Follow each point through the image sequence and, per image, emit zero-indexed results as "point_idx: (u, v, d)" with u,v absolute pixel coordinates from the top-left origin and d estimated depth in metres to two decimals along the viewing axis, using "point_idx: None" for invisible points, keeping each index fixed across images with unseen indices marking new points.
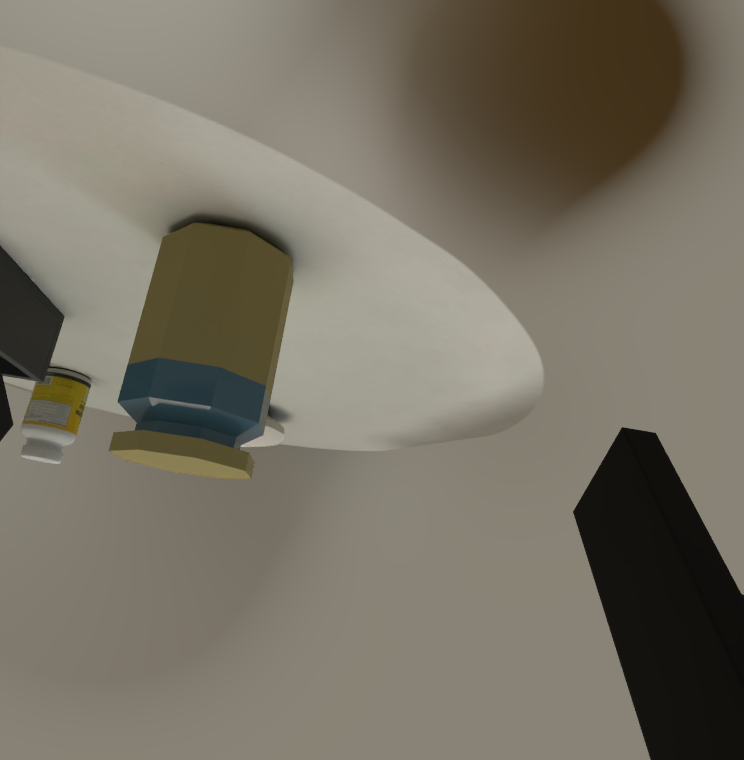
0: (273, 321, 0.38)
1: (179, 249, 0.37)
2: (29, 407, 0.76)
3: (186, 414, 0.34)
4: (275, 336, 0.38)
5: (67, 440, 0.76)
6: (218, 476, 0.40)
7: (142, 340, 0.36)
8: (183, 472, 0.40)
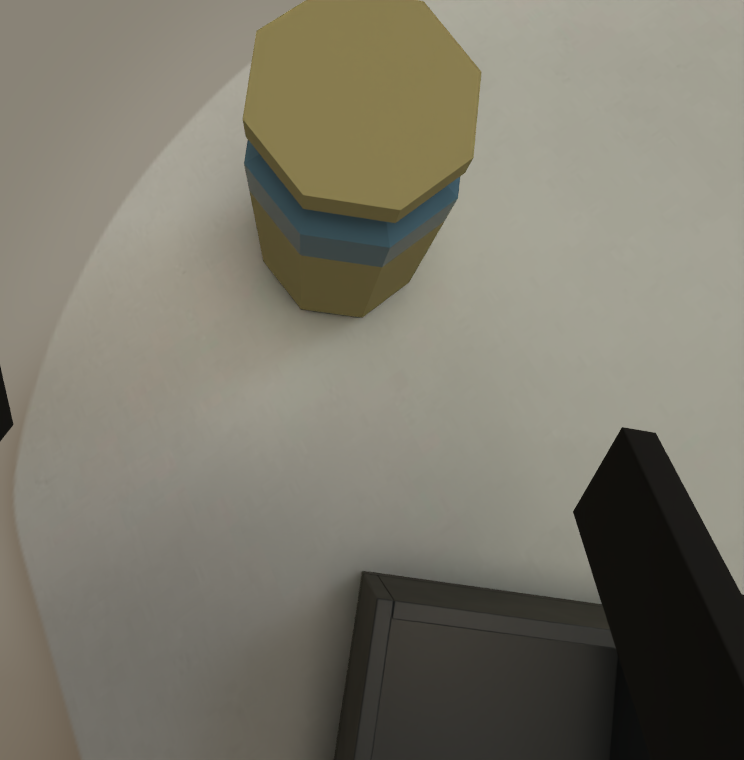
0: None
1: (271, 263, 0.32)
2: None
3: None
4: None
5: None
6: (452, 65, 0.21)
7: (286, 248, 0.27)
8: (464, 131, 0.21)
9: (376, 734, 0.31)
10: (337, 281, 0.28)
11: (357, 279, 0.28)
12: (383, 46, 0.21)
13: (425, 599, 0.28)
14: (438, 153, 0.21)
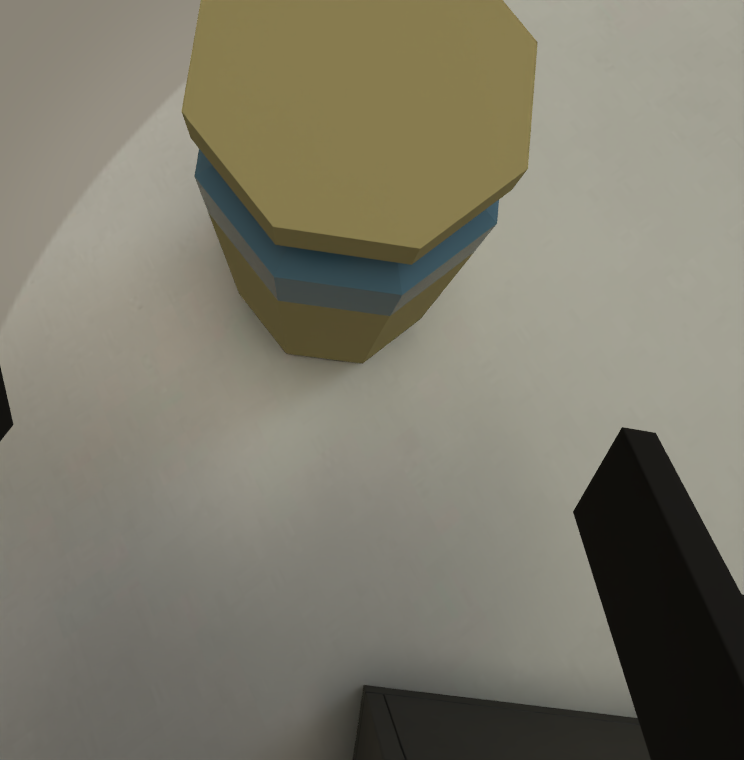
0: None
1: (247, 298, 0.26)
2: None
3: None
4: None
5: None
6: (495, 32, 0.14)
7: (260, 288, 0.20)
8: (514, 129, 0.14)
9: None
10: (330, 328, 0.21)
11: (356, 327, 0.21)
12: (393, 4, 0.14)
13: (447, 751, 0.21)
14: (476, 162, 0.14)
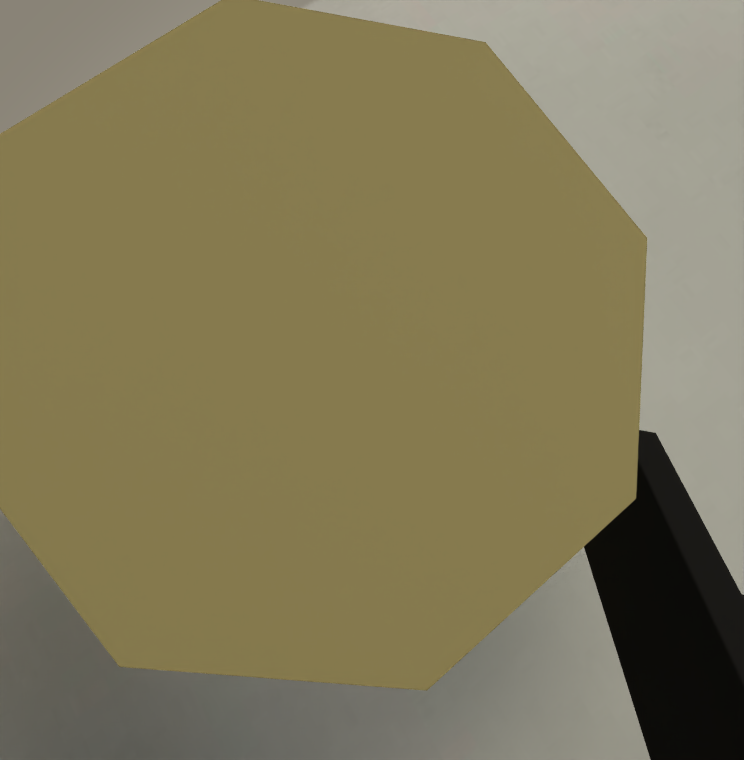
0: None
1: None
2: None
3: None
4: None
5: None
6: (569, 222, 0.08)
7: None
8: (607, 418, 0.07)
9: None
10: None
11: None
12: (374, 173, 0.07)
13: None
14: (536, 492, 0.07)
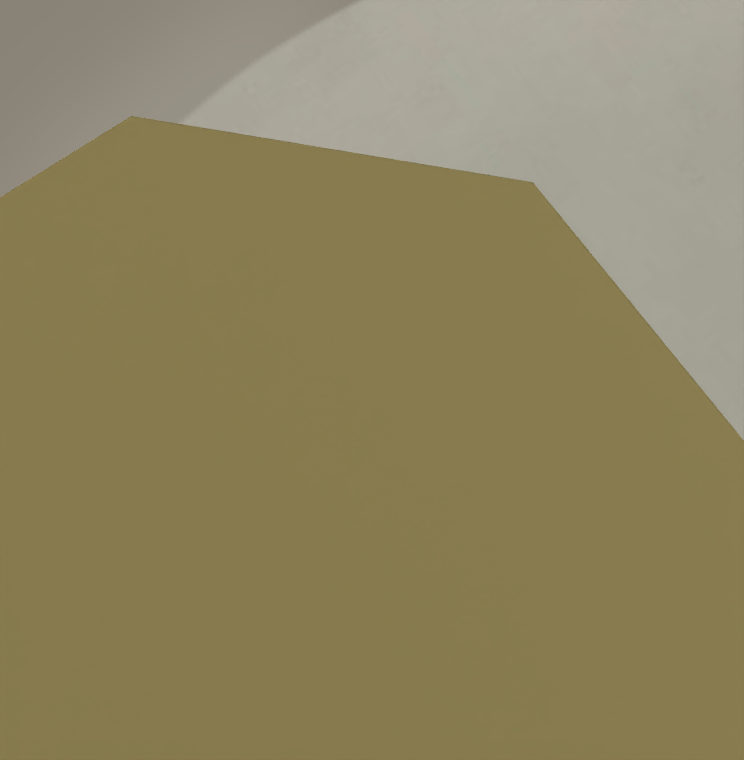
0: None
1: None
2: None
3: None
4: None
5: None
6: (665, 472, 0.05)
7: None
8: None
9: None
10: None
11: None
12: (358, 403, 0.05)
13: None
14: None
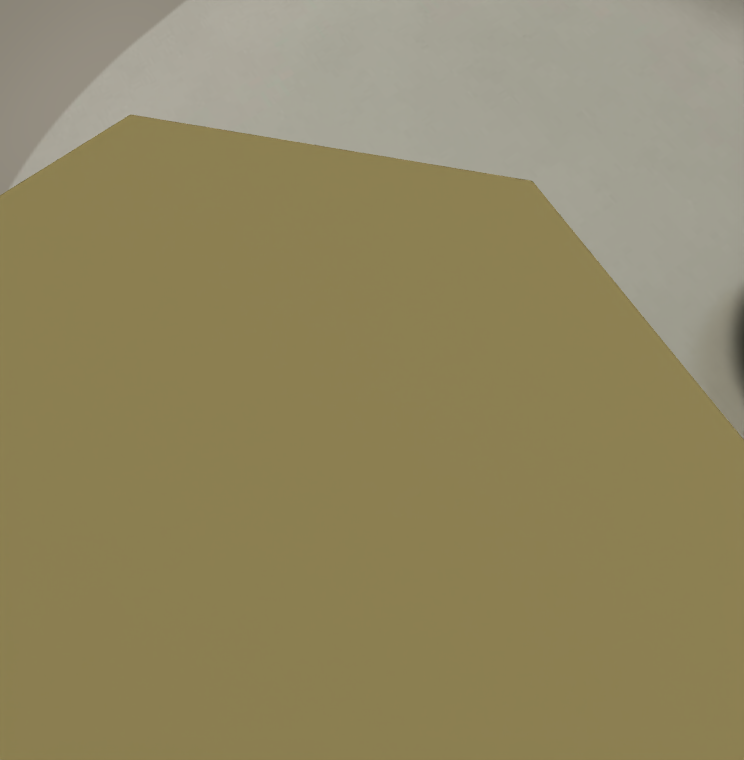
0: None
1: None
2: None
3: None
4: None
5: None
6: (665, 471, 0.05)
7: None
8: None
9: None
10: None
11: None
12: (358, 402, 0.05)
13: None
14: None
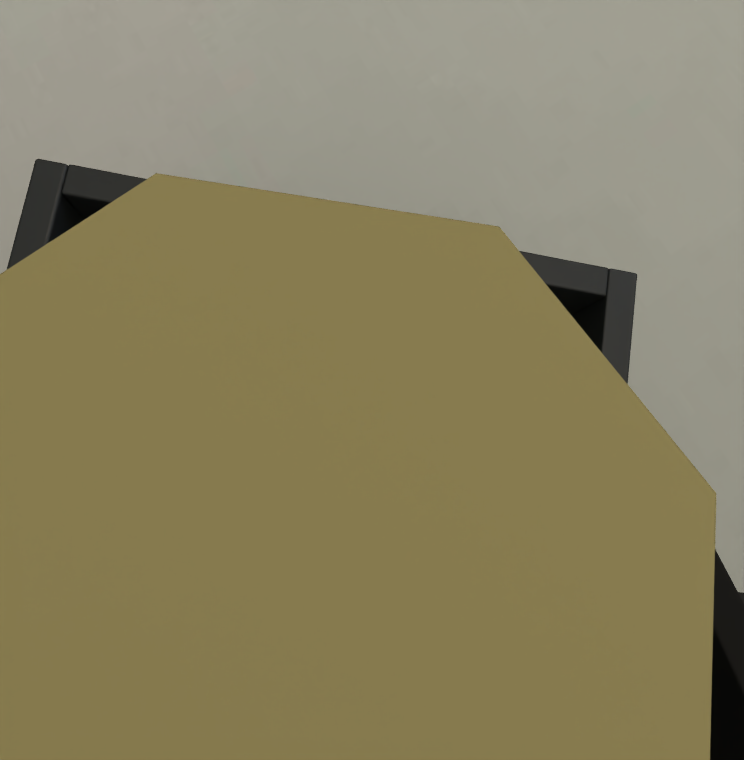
0: None
1: None
2: None
3: None
4: None
5: None
6: (611, 475, 0.06)
7: None
8: (666, 759, 0.05)
9: None
10: None
11: None
12: (349, 417, 0.05)
13: None
14: None
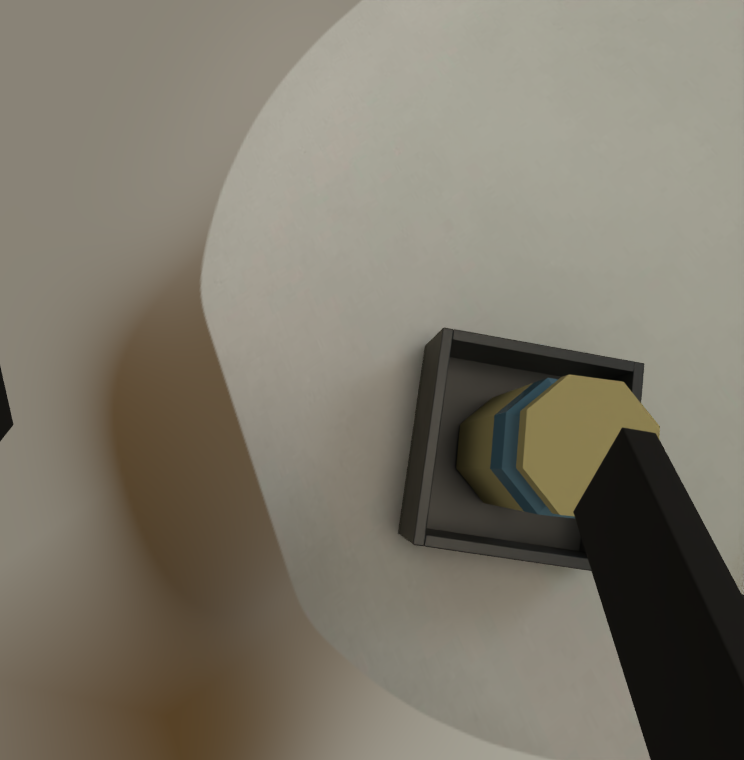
0: (507, 394, 0.44)
1: (468, 476, 0.46)
2: None
3: (518, 435, 0.36)
4: (517, 389, 0.43)
5: None
6: (642, 423, 0.35)
7: (506, 497, 0.40)
8: None
9: None
10: None
11: None
12: (601, 413, 0.35)
13: None
14: None
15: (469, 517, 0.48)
